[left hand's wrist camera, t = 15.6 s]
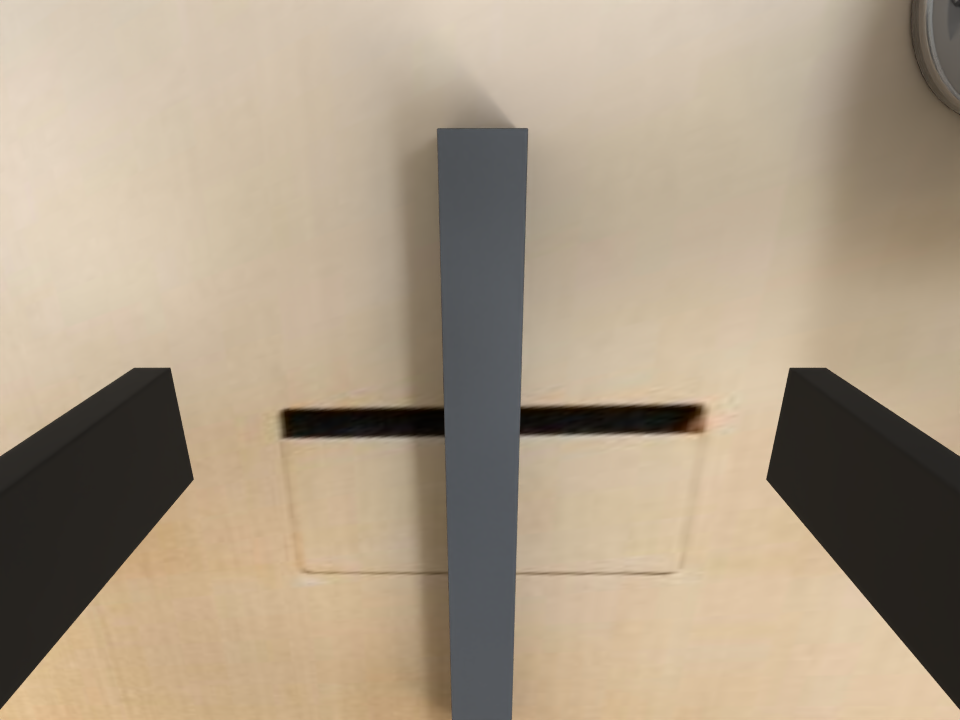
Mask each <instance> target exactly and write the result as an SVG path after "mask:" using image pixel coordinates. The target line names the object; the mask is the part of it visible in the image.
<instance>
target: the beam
mask: <svg viewBox="0 0 960 720" xmlns="http://www.w3.org/2000/svg"><path fill="white" fill-rule="evenodd" d="M437 144H438V184H439V223H440V263H441V303H442V343H443V382H444V422H445V462H446V502H447V541H448V581H449V621H450V661H451V700H452V720H512V690H513V654H514V618H515V582H516V546H517V510H518V474H519V438H520V402H521V366H522V329H523V293H524V257H525V221H526V185H527V149H528V129H527V128H438V129H437Z"/></svg>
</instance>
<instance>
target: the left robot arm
mask: <svg viewBox="0 0 960 720" xmlns="http://www.w3.org/2000/svg"><path fill="white" fill-rule="evenodd" d="M911 24H912V39H913V46H914V51H915V55H916V59H917V62H918V65H919V68H920V70H921V73H922V75H923V77H924V79H925V80H926V82H927V84H928V85H929V87H930V88H931V90H932V91H933V92H934V94H935V95H936V96H937V97H938V98H939V99H940V100H941V101H942V102H943V103H944V104H945V105H946V106H947V107H949V108H950V109H952V110H953V111H955V112H956V113H958V114H960V0H913V4H912V18H911ZM193 480H194V478H193V474H192V469H191V464H190V459H189V455H188V450H187V445H186V440H185V435H184V431H183V426H182V421H181V416H180V412H179V407H178V402H177V397H176V392H175V388H174V383H173V378H172V373H171V369H170V368H133V369H132V370H130V371H129V372H127V373H126V374H124V375H123V376H121V377H120V378H118V379H117V380H115V381H114V382H112V383H111V384H109V385H108V386H106V387H104V388H103V389H101V390H100V391H98V392H97V393H95V394H94V395H92V396H91V397H89V398H88V399H86V400H85V401H83V402H82V403H80V404H79V405H77V406H76V407H74V408H73V409H71V410H70V411H68V412H67V413H65V414H64V415H62V416H61V417H59V418H58V419H56V420H55V421H53V422H52V423H50V424H49V425H47V426H46V427H44V428H43V429H41V430H39V431H38V432H36V433H35V434H33V435H32V436H30V437H29V438H27V439H26V440H24V441H23V442H21V443H20V444H18V445H17V446H15V447H14V448H12V449H11V450H9V451H8V452H6V453H5V454H3V455H2V456H0V709H1V708H2V707H3V706H4V704H5V703H6V702H7V701H8V700H9V699H10V697H11V696H12V695H13V694H14V693H15V691H16V690H17V689H18V688H19V687H20V685H21V684H22V683H23V682H24V681H25V679H26V678H27V677H28V676H29V675H30V674H31V672H32V671H33V670H34V669H35V668H36V666H37V665H38V664H39V663H40V662H41V660H42V659H43V658H44V657H45V656H46V655H47V653H48V652H49V651H50V650H51V649H52V647H53V646H54V645H55V644H56V643H57V641H58V640H59V639H60V638H61V637H62V636H63V634H64V633H65V632H66V631H67V630H68V628H69V627H70V626H71V625H72V624H73V622H74V621H75V620H76V619H77V618H78V616H79V615H80V614H81V613H82V612H83V611H84V609H85V608H86V607H87V606H88V605H89V603H90V602H91V601H92V600H93V599H94V597H95V596H96V595H97V594H98V593H99V592H100V590H101V589H102V588H103V587H104V586H105V584H106V583H107V582H108V581H109V580H110V578H111V577H112V576H113V575H114V574H115V572H116V571H117V570H118V569H119V568H120V567H121V565H122V564H123V563H124V562H125V561H126V559H127V558H128V557H129V556H130V555H131V553H132V552H133V551H134V550H135V549H136V548H137V546H138V545H139V544H140V543H141V542H142V540H143V539H144V538H145V537H146V536H147V534H148V533H149V532H150V531H151V530H152V528H153V527H154V526H155V525H156V524H157V523H158V521H159V520H160V519H161V518H162V517H163V515H164V514H165V513H166V512H167V511H168V509H169V508H170V507H171V506H172V505H173V504H174V502H175V501H176V500H177V499H178V498H179V496H180V495H181V494H182V493H183V492H184V490H185V489H186V488H187V487H188V486H189V484H190V483H191V482H192V481H193ZM766 480H767V481H768V482H769V483H770V484H771V486H772V487H773V488H774V489H775V490H776V492H777V493H778V494H779V495H780V496H781V498H782V499H783V500H784V501H785V502H786V504H787V505H788V506H789V507H790V508H791V509H792V511H793V512H794V513H795V514H796V515H797V517H798V518H799V519H800V520H801V521H802V523H803V524H804V525H805V526H806V527H807V528H808V530H809V531H810V532H811V533H812V534H813V536H814V537H815V538H816V539H817V540H818V542H819V543H820V544H821V545H822V546H823V548H824V549H825V550H826V551H827V552H828V553H829V555H830V556H831V557H832V558H833V559H834V561H835V562H836V563H837V564H838V565H839V567H840V568H841V569H842V570H843V571H844V572H845V574H846V575H847V576H848V577H849V578H850V580H851V581H852V582H853V583H854V584H855V586H856V587H857V588H858V589H859V590H860V592H861V593H862V594H863V595H864V596H865V597H866V599H867V600H868V601H869V602H870V603H871V605H872V606H873V607H874V608H875V609H876V611H877V612H878V613H879V614H880V615H881V616H882V618H883V619H884V620H885V621H886V622H887V624H888V625H889V626H890V627H891V628H892V630H893V631H894V632H895V633H896V634H897V636H898V637H899V638H900V639H901V640H902V641H903V643H904V644H905V645H906V646H907V647H908V649H909V650H910V651H911V652H912V653H913V655H914V656H915V657H916V658H917V659H918V660H919V662H920V663H921V664H922V665H923V666H924V668H925V669H926V670H927V671H928V672H929V674H930V675H931V676H932V677H933V678H934V679H935V681H936V682H937V683H938V684H939V685H940V687H941V688H942V689H943V690H944V691H945V693H946V694H947V695H948V696H949V697H950V699H951V700H952V701H953V702H954V703H955V704H956V706H957V707H958V708H959V709H960V456H958V455H957V454H955V453H954V452H952V451H951V450H949V449H948V448H946V447H945V446H943V445H942V444H940V443H939V442H937V441H936V440H934V439H933V438H931V437H930V436H928V435H927V434H925V433H924V432H922V431H921V430H919V429H917V428H916V427H914V426H913V425H911V424H910V423H908V422H907V421H905V420H904V419H902V418H901V417H899V416H898V415H896V414H895V413H893V412H892V411H890V410H889V409H887V408H886V407H884V406H883V405H881V404H880V403H878V402H877V401H875V400H874V399H872V398H871V397H869V396H868V395H866V394H865V393H863V392H862V391H860V390H859V389H857V388H856V387H854V386H852V385H851V384H849V383H848V382H846V381H845V380H843V379H842V378H840V377H839V376H837V375H836V374H834V373H833V372H831V371H830V370H828V369H827V368H790V369H789V373H788V378H787V383H786V388H785V392H784V397H783V402H782V407H781V412H780V416H779V421H778V426H777V431H776V435H775V440H774V445H773V450H772V455H771V459H770V464H769V469H768V474H767V478H766Z"/></svg>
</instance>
